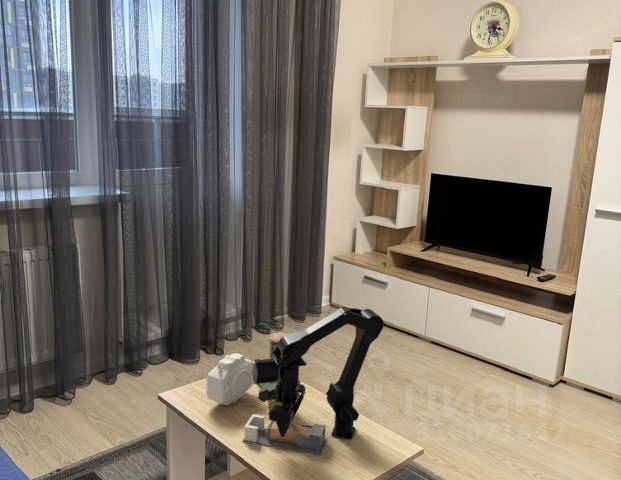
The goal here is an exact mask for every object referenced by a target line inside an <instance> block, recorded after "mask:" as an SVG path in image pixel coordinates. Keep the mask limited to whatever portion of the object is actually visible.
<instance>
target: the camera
mask: <svg viewBox="0 0 621 480" xmlns="http://www.w3.org/2000/svg"><path fill="white" fill-rule="evenodd" d="M254 363H255V361H254V360H253V361H252V360H251V359H248V358H245V357H244V355H242V354H241V353H231V354H230V355H229V354H226V355H224V358H222V359H220V360H219V361H218V362H217V365H216V366H214V368H213V369H211V370H210V371H209V372H208V374H207V377H206V397H207V398H208V399H209V400H211V401H213V402H216V403H219V404H222V405H224V406H229V405H231V404H232V403H237V402H238V400H239V399H240V398H242V397H243V396H244V395H245V394H246V393H247V391H249V390H250V388H252V386H253V385H255V384H254V381H253V375H252V368H253V365H254Z"/></svg>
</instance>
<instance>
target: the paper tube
mask: <svg viewBox="0 0 621 480" xmlns="http://www.w3.org/2000/svg"><path fill="white" fill-rule="evenodd" d="M288 334H289V333H286V332H275V333H272V334H270V337H269V339H270V340H269V359H272V357H271V354H272V352H273V351H274V350H275V348H276V347H277V346H278V343H279V340H280V339H281V338H282V337H283V336H285V335H288ZM280 357H281V358H283V355H282V354H281V355H280ZM278 382H279V377H278V379H277V381H275V382H271V383H269V384H273V383H278ZM267 402H268V405H267V408H268V409H269V411H270V410H271V409H272V407H273V406H275V405H280V406H282V405H283V404H282V403H281V402H275V399H274V400H269V401H267Z"/></svg>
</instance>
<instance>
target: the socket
mask: <svg viewBox="0 0 621 480" xmlns="http://www.w3.org/2000/svg"><path fill="white" fill-rule="evenodd" d="M264 428H265V415H258V414H254V413H253V414H252V415H251V416H250V418H249V419H248V421H247V422H246V424H245V426H244V437H243V439H244V440H247V441H253V442H257V440H258V430H260V431H263V430H264Z"/></svg>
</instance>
